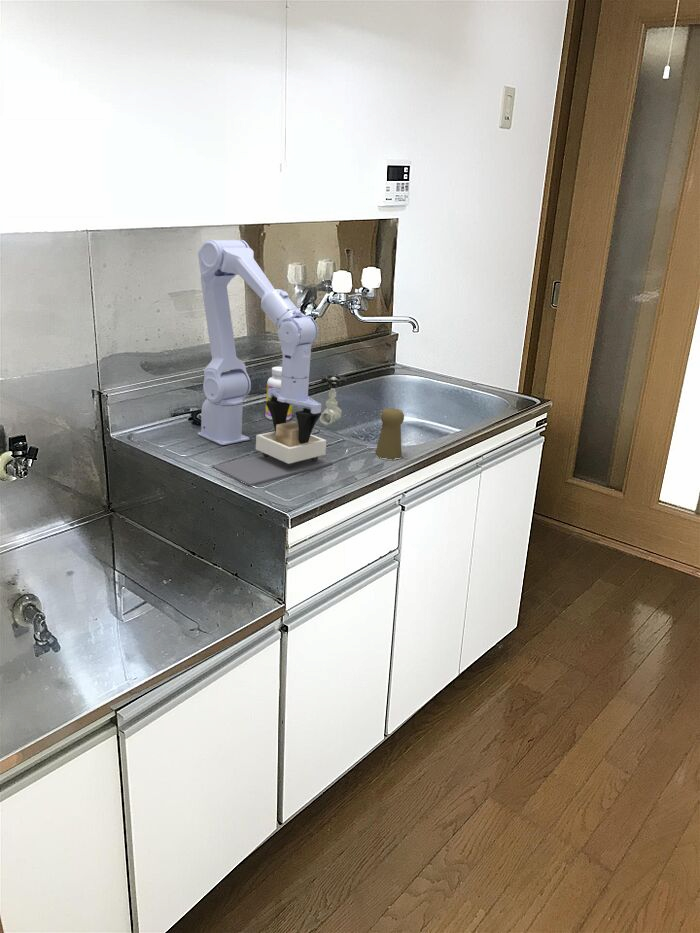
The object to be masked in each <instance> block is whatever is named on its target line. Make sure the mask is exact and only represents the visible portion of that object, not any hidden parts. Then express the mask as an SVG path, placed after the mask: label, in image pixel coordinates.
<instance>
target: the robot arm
mask: <svg viewBox="0 0 700 933" xmlns="http://www.w3.org/2000/svg"><path fill="white" fill-rule="evenodd" d="M254 254H255V253H254V250H253V249H252V248H251V247H250V245H249V244H248V242H246V241H245V240H243V239H239V238H238V239H231V240H230V239H212V238H211V239H207V240H205V241H204V242H203V243H202V245H201V247H200V249H199V250H198V251H197V258H198V265H199V270H200V285H201V292H202V298H203V306H204V312H205V320H206V326H207V334H208V341H209V347H210V354H211V361H210V362H209V363H208V364H207V365H206V366H205V368H204V369H203V376H204V377H203V386H202V389H203V393H204V396H205V397H206V399H205V400H204V401H203V403H202V405H201V413H200V414H201V418H200V419H201V421H200V425H201V426H200V431H198V432H197V435H198V436H200V437H203V438H205V439H207V440H209V441H212V442H214V443H216V444H217V445H220V446H225V445H226V446H227V445H231V444H235V443H236V444H237V443H240V442H244V441H245V442H246V441H249V440H250V437H249V436H247V435H244V434H242V429H243V426H242V425H243V406H244V405H243V404H244V401H246V397H247V396H248V395H249V394H250V392H251V389H252V382H251V381H252V380H251V378H250V376H249V374H248V372H247V367H246V364H245V362H243V361H242V360H240V359H239V357H237V352H236V345H235V344H236V343H235V338H234V328H233V322H232V321H233V320H232V315H231V308H230V301H229V293H228V292H229V291H228V285H229V284H230V282H231V281H232V280H233V279H234V278H235V277H237V275H238V276H239V277H241V278H242V280H243V281H244V282H245V283H246V284H247V285H248V287H250V289H252V291H253V292H254V293H256V295H257V296H258V297H259V298H260V300H261V301H260V308H261V310H262V311H263V312H264V313H265V315H266V316H267V317H268V318H269V319H270V321H271V322H272V324H274V326H275V327H276V329H277V337H278V340H279V342H280V345H281V346H280V347H281V348H280V351H281V353H282V359H281V360H282V362H281V363H282V364H281V367H282V378H281V389H278V388H269V389H268V397H269V398H271V400H270V401H267V402H266V401H265V406H266V405H267V407H268V409H269V411H270V413H271V416H272V420H271V421H272V423H273V428H274V431H275V433H276V425H277V424H282V423H287V421H286V418H287V413H288V410H289V406H290V404H291V405H292V406H295V407H297V408H300V409H302V410H298V411H295V416H296V419H297V420H296V422H297V423H298V427H299V443H301V444H303V443H307V442H308V441H309V438H310V435H311V434H312V432H313V429H314V428H315V425H316V423H317V421H318V420H319V419H320V416H321V413H322V403H320V402H318V401H316V400H315V399H314V398H312V397H310V396H309V386H310V385H309V382H310V368H311V357H312V355H311V354H312V344H313V343H315V342H316V340H317V339H318V336H319V328H318V325H317V322H316V321H315V320H314V318H313V317H312V316H311V315H306V314H304V313H303V312H302V311H301V310H300V309H298V307H297V306H296V305H295V304H294V302H293V301H292V299H290V298H289V296H290V295H289V294H288V292H287V291H285V290H283V289H279V288H277V289H275V288H274V285H272V283H271V281H270V280H269V278H268V277H267V276H266V274H265V272H264V271H263V269H261V266H259V264H258V263H257V261H256V260H255V255H254ZM227 371H228V372H227Z"/></svg>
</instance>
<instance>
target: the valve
mask: <svg viewBox="0 0 700 933" xmlns="http://www.w3.org/2000/svg"><path fill="white" fill-rule="evenodd" d="M320 378H321V382H322V383H325V382H326V383H327V384H328V385H329V386H328V388H330V390H329V391H328V397H329V398H328V400H326V401H325V406H326V408H325V409H324V410H323V412H322V411H321V416H320V417H319V422H320V423H321V424H322V425H324V426H325V427H326V426H330V425H333V424H335V423H337V422H338V421H339V419H341V418H342V413H343V412H342V411H343V410H342V408H340V407H339V404H338V403H339V402H338V401H337V399H336V397H337V391H336V389H337V388H338V387H341V386H342V385H343V384H347V376H341V375H340V374H335V375H332V374H331V373H327V374H326V375H325V374H321V377H320Z"/></svg>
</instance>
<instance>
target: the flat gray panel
mask: <svg viewBox="0 0 700 933" xmlns="http://www.w3.org/2000/svg"><path fill="white" fill-rule="evenodd" d="M331 465H333V461H331V460H328V459H326V458H324V457H322V456H318V460H317V461H315V462H314V461H312V460H311V459H310V458H309V459H305V460H302V461H298V462H294V466H293V467H292V468H289V467H287V466H286V462H284V461H281V460H279V459H277V458H274V457H272V456H269V457H265V456H263V454H260V455H254V456H250V457H245V458H242V459H237V460H233V461H229V462H226V463H220V464H216V465H213V466H212V469H213V468H214V469H213V470H215V469H216V470H215V471H217V470H218V471H217V472H219V471H220V473H221V472H222V473H221V474H223V473H224V475H225V474H226V475H225V476H227V475H229V476H231V477H233V478H235V479H237V480H239V481H238V482H240V481H242V482H244V483H246V484H247V485H246V484H245V485H246V486H248V485H249V486H248V487H252V486H251V485H253V486H256V485H257V486H258V485H261V484H264V483H268V482H271V481H276V480H280V479H282V478H286V477H290V476H294V475H297V474H301V473H306V472H309V471H312V470H316V469H320V468H324V467H328V466H331ZM229 476H228V477H229ZM231 477H230V478H231ZM233 478H232V479H233ZM235 479H234V480H235ZM237 480H236V481H237ZM242 482H241V483H242ZM244 483H243V484H244Z"/></svg>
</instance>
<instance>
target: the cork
mask: <svg viewBox="0 0 700 933" xmlns="http://www.w3.org/2000/svg"><path fill="white" fill-rule="evenodd" d="M380 420H381V421H380V422H382V424H381V429H380V433H379V437H378V441H377V446H376V449H375V453H376V455H377V456H378V457H381V458H387V459H395V458H400V457H401V458H402V430H401V429H402V426H401V425H402V424H403V423H404V420H405V414H404V412H403V411H402V410H401V409H398V408H391V407H388V408H385V409H383V410H382V412H381V414H380ZM378 457H377V458H378Z"/></svg>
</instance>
